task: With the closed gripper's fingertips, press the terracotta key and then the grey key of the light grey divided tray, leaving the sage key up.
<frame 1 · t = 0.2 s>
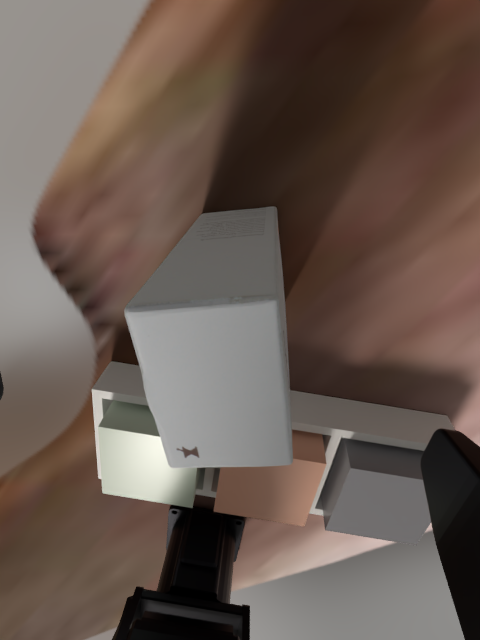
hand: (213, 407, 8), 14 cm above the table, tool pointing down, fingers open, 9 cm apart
terracotta key: (266, 472, 24), point 4 cm above the table, slide at 0.0 cm
skincare box: (245, 258, 21), on the table
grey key: (380, 491, 24), point 4 cm above the table, slide at 0.0 cm
light grey divided tray: (267, 431, 27), on the table
sage key: (153, 453, 24), point 4 cm above the table, slide at 0.0 cm
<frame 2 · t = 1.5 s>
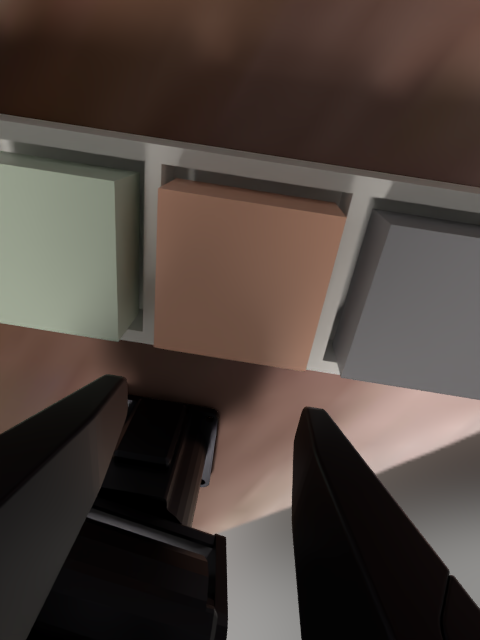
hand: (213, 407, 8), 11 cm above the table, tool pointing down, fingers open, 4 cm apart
terracotta key: (242, 276, 14), point 4 cm above the table, slide at 0.0 cm
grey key: (434, 307, 14), point 4 cm above the table, slide at 0.0 cm
light grey divided tray: (248, 249, 17), on the table
sage key: (52, 246, 14), point 4 cm above the table, slide at 0.0 cm
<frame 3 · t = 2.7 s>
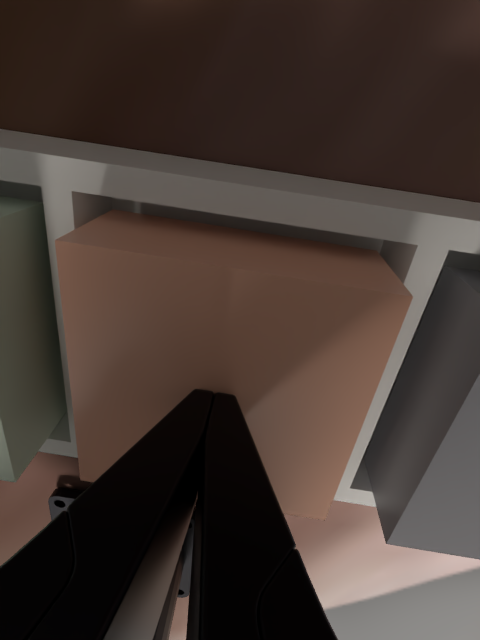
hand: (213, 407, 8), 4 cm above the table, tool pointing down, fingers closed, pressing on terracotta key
terracotta key: (222, 370, 9), point 3 cm above the table, slide at 0.3 cm, touching gripper
light grey divided tray: (235, 309, 11), on the table
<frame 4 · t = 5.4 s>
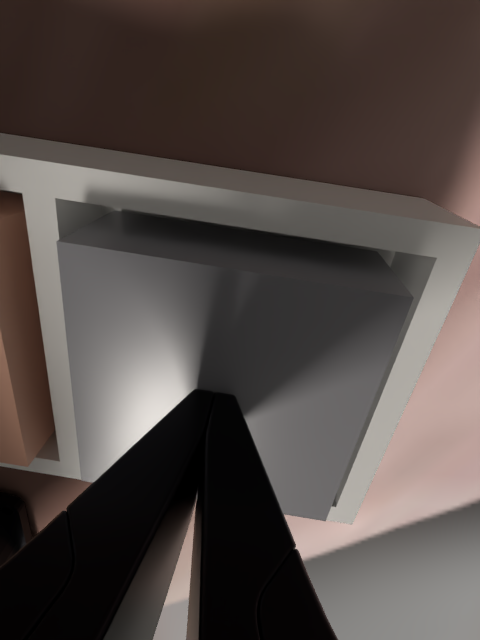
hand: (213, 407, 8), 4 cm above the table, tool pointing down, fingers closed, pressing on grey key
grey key: (223, 370, 9), point 3 cm above the table, slide at 1.0 cm, touching gripper
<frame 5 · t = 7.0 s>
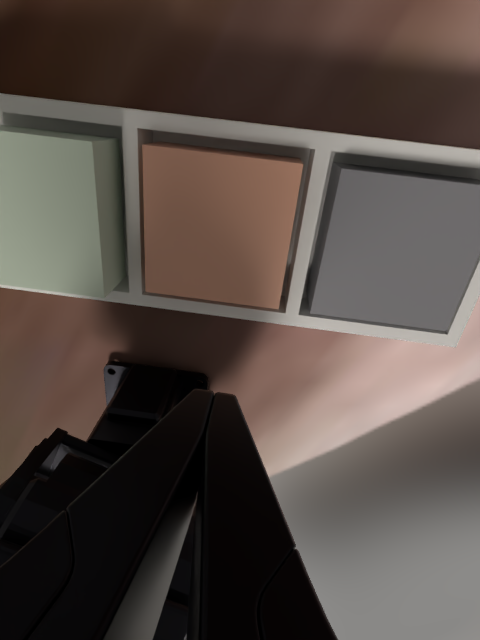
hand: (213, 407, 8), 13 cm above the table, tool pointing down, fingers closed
terracotta key: (220, 226, 16), point 2 cm above the table, slide at 1.1 cm
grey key: (390, 247, 16), point 2 cm above the table, slide at 1.1 cm
light grey divided tray: (227, 214, 18), on the table
sage key: (40, 211, 15), point 4 cm above the table, slide at 0.0 cm
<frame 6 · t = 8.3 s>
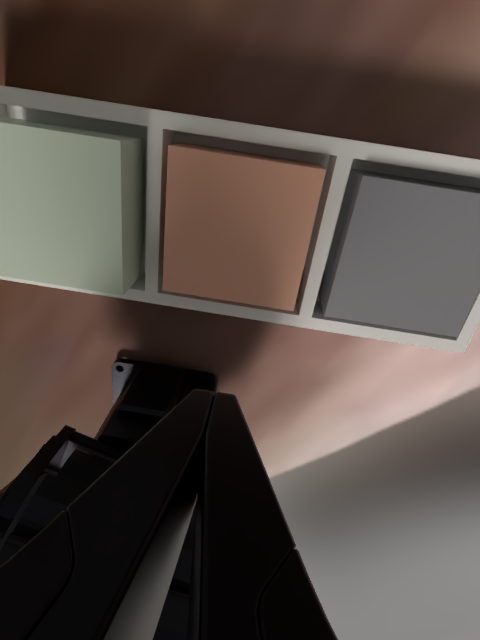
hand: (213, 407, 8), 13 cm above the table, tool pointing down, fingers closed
terracotta key: (239, 228, 16), point 2 cm above the table, slide at 1.1 cm
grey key: (404, 254, 16), point 2 cm above the table, slide at 1.1 cm
light grey divided tray: (243, 216, 19), on the table
sage key: (62, 207, 16), point 4 cm above the table, slide at 0.0 cm
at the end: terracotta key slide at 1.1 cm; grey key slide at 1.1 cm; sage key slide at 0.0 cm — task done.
